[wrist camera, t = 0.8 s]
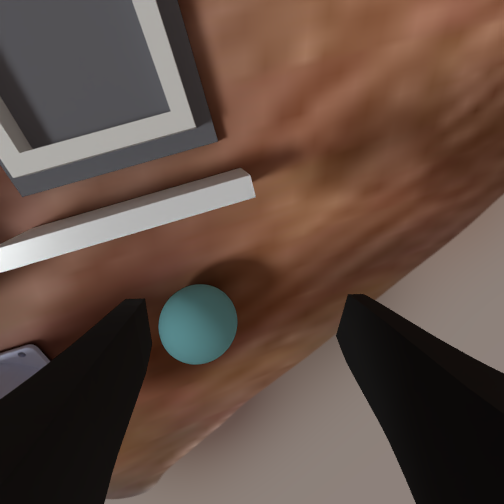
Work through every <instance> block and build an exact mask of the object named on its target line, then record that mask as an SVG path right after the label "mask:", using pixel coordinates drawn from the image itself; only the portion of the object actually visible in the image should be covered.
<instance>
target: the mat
mask: <svg viewBox="0 0 504 504" xmlns="http://www.w3.org/2000/svg"><path fill="white" fill-rule="evenodd" d="M214 142H218V140H217V136H216V133H215V129H214V126H213V122H212V119H211V115H210V112H209V108H208V105H207V101H206V98H205V95H204V91H203V88H202V84H201V81H200V77H199V74H198V70H197V67H196V63H195V60H194V56H193V53H192V49H191V46H190V42H189V39H188V35H187V32H186V28H185V25H184V22H183V18H182V15H181V11H180V8H179V4H178V1H177V0H0V165H1V167H2V168H3V169H4V171H5V172H6V174H7V175H8V177H9V178H10V180H11V181H12V183H13V184H14V186H15V187H16V188H17V190H18V191H19V193H20V194H21V196H22V197H24V196H28V195H31V194H35V193H38V192H42V191H45V190H49V189H52V188H56V187H59V186H63V185H66V184H70V183H73V182H77V181H80V180H84V179H88V178H91V177H95V176H98V175H102V174H105V173H109V172H112V171H116V170H119V169H123V168H126V167H130V166H133V165H137V164H140V163H144V162H147V161H151V160H155V159H158V158H162V157H165V156H169V155H172V154H176V153H179V152H183V151H186V150H190V149H193V148H197V147H200V146H204V145H207V144H211V143H214Z"/></svg>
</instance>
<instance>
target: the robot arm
mask: <svg viewBox="0 0 504 504" xmlns="http://www.w3.org/2000/svg"><path fill="white" fill-rule="evenodd" d="M336 337H337V339H338V342H339V345H340V347H341V350H342V353H343V355H344V357H345V360H346V362H347V364H348V366H349V368H350V370H351V372H352V374H353V375H354V377H355V379H356V381H357V383H358V385H359V386H360V388H361V390H362V392H363V394H364V396H365V397H366V399H367V401H368V403H369V405H370V406H371V408H372V410H373V412H374V414H375V416H376V417H377V419H378V421H379V423H380V425H381V427H382V428H383V431H384V433H385V435H386V436H387V438H388V440H389V442H390V445H391V447H392V449H393V451H394V454H395V456H396V458H397V460H398V462H399V465H400V467H401V469H402V472H403V474H404V476H405V478H406V481H407V483H408V486H409V488H410V490H411V493H412V495H413V498H414V500H415V502H416V504H504V373H501V372H500V371H498V370H495V369H494V368H492V367H489V366H487V365H486V364H484V363H482V362H480V361H478V360H476V359H474V358H472V357H470V356H469V355H467V354H465V353H463V352H461V351H459V350H458V349H456V348H454V347H452V346H451V345H449V344H447V343H445V342H444V341H442V340H440V339H438V338H436V337H435V336H433V335H432V334H430V333H428V332H426V331H425V330H423V329H421V328H420V327H418V326H417V325H415V324H413V323H412V322H410V321H408V320H407V319H405V318H403V317H402V316H400V315H398V314H397V313H395V312H394V311H392V310H390V309H389V308H387V307H385V306H384V305H382V304H380V303H379V302H377V301H375V300H373V299H372V298H370V297H368V296H366V295H364V294H348V296H347V300H346V303H345V307H344V310H343V314H342V317H341V321H340V324H339V327H338V331H337V334H336ZM151 347H152V340H151V334H150V327H149V321H148V315H147V309H146V302H145V299H125V300H124V301H123V302H121V303H120V304H119V305H118V306H117V307H116V308H114V309H113V310H112V311H111V312H110V313H109V314H107V315H106V316H105V317H104V318H103V319H102V320H101V321H99V322H98V323H97V324H96V325H95V326H94V327H92V328H91V329H90V330H89V331H88V332H86V333H85V334H84V335H83V336H82V337H80V338H79V339H78V340H77V341H76V342H75V343H73V344H72V345H71V346H70V347H68V348H67V349H66V350H65V351H63V352H62V353H61V354H59V355H58V356H57V357H56V358H54V359H53V360H52V361H50V360H49V359H48V358H47V357H46V356H45V355H44V354H43V353H42V352H41V350H40V349H39V348H38V347H37V346H35V345H31V344H29V345H25V346H22V347H18V348H15V349H12V350H9V351H6V352H2V353H0V504H104V502H105V498H106V494H107V491H108V487H109V483H110V479H111V475H112V472H113V469H114V465H115V462H116V459H117V456H118V452H119V450H120V447H121V444H122V441H123V438H124V435H125V432H126V429H127V427H128V424H129V421H130V418H131V415H132V412H133V409H134V406H135V404H136V401H137V398H138V395H139V392H140V389H141V386H142V383H143V380H144V377H145V374H146V370H147V366H148V361H149V357H150V352H151Z"/></svg>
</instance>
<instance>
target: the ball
mask: <svg viewBox="0 0 504 504" xmlns="http://www.w3.org/2000/svg"><path fill="white" fill-rule="evenodd" d="M236 330H237V314H236V310H235V307H234V305H233V303H232V301H231V300H230V298H229V297H228V296H227V295H226V294H225V293H224V292H223V291H221V290H219V289H218V288H216V287H213V286H210V285H205V284H196V285H190V286H187V287H185V288H183V289H181V290H179V291H177V292H176V293H175V294H174V295H172V296H171V297H170V298H169V300H168V301H167V302H166V304H165V305H164V307H163V309H162V311H161V314H160V318H159V335H160V339H161V342H162V344H163V346H164V348H165V349H166V351H167V352H168V353H169V354H170V355H171V356H172V357H174V358H175V359H177V360H179V361H181V362H183V363H187V364H204V363H208V362H211V361H213V360H215V359H217V358H218V357H220V356H221V355H222V354H223V353H224V352H225V351H226V350H227V349H228V348H229V346H230V345H231V343H232V341H233V340H234V337H235V334H236Z"/></svg>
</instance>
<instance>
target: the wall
mask: <svg viewBox="0 0 504 504" xmlns="http://www.w3.org/2000/svg"><path fill="white" fill-rule="evenodd" d="M255 197H256V196H255V192H254V188H253V184H252V180H251V176H250V174H248V173H247V172H246V171H244V170H243V169H242V168H238V169H234V170H231V171H227V172H224V173H221V174H217V175H214V176H210V177H207V178H203V179H200V180H196V181H193V182H189V183H186V184H183V185H179V186H176V187H172V188H169V189H165V190H162V191H158V192H155V193H151V194H148V195H145V196H141V197H138V198H134V199H131V200H127V201H124V202H120V203H117V204H114V205H110V206H107V207H103V208H100V209H96V210H93V211H89V212H86V213H82V214H79V215H76V216H72V217H69V218H65V219H62V220H58V221H55V222H51V223H48V224H44V225H41V226H38V227H34V228H32V229H29V230H27V231H25V232H23V233H21V234H19V235H17V236H15V237H13V238H11V239H9V240H7V241H5V242H3V243H1V244H0V273H1V272H5V271H8V270H11V269H15V268H18V267H22V266H25V265H28V264H32V263H35V262H38V261H42V260H45V259H49V258H52V257H55V256H59V255H62V254H65V253H69V252H72V251H76V250H79V249H82V248H86V247H89V246H92V245H96V244H99V243H103V242H106V241H109V240H113V239H116V238H119V237H123V236H126V235H130V234H133V233H136V232H140V231H143V230H146V229H150V228H153V227H157V226H160V225H163V224H167V223H170V222H173V221H177V220H180V219H184V218H187V217H190V216H194V215H197V214H201V213H204V212H207V211H211V210H214V209H217V208H221V207H224V206H228V205H231V204H234V203H238V202H241V201H244V200H248V199H251V198H255Z"/></svg>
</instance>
